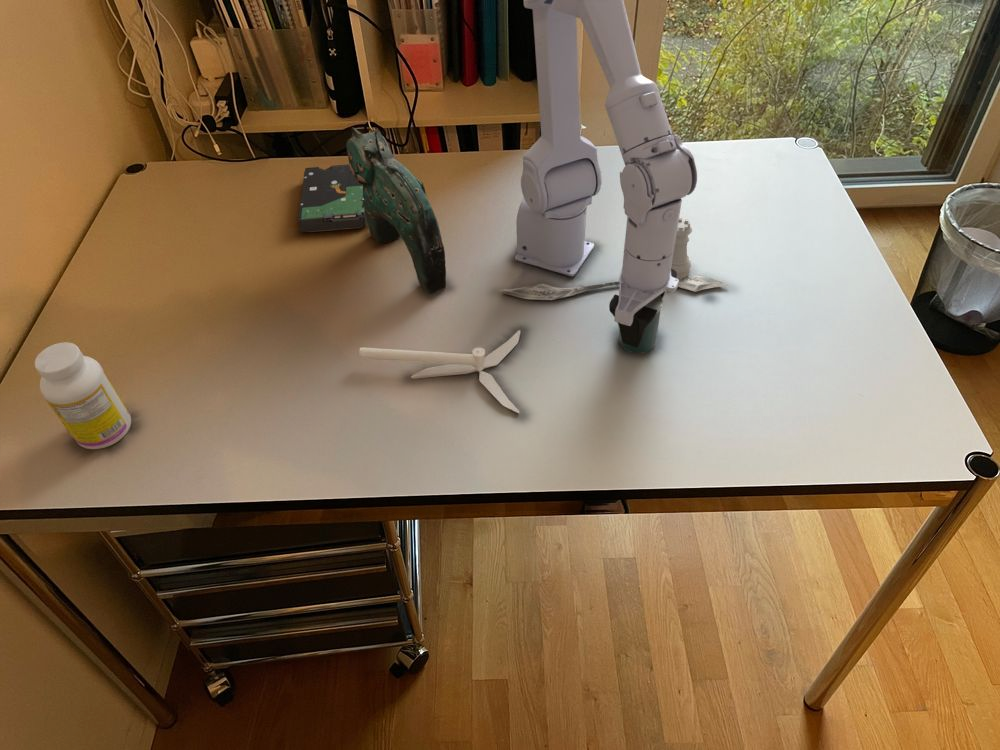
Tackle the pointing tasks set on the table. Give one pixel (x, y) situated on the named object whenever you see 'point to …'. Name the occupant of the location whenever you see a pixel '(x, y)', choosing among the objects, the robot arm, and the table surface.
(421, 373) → the wind turbine
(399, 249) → the table surface
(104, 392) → the supplement bottle
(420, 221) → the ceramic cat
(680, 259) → the rook chess piece
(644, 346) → the tin can
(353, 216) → the disk drive
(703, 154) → the table surface
